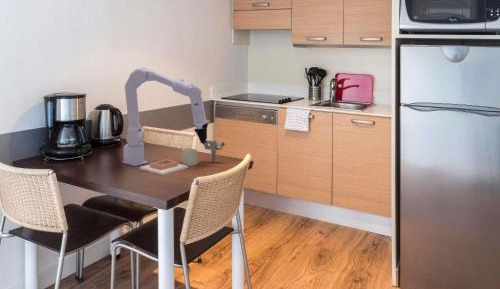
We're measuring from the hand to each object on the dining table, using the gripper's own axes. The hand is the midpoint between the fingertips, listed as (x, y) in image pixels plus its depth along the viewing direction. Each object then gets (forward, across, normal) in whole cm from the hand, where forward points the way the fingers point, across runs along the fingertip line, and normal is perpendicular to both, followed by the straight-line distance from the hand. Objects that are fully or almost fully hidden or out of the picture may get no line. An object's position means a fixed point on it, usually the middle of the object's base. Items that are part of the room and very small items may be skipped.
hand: (204, 141), depth 210 cm
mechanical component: (+11, +2, -2) cm, 12 cm away
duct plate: (+8, -10, +19) cm, 22 cm away
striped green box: (+9, -1, +8) cm, 13 cm away
